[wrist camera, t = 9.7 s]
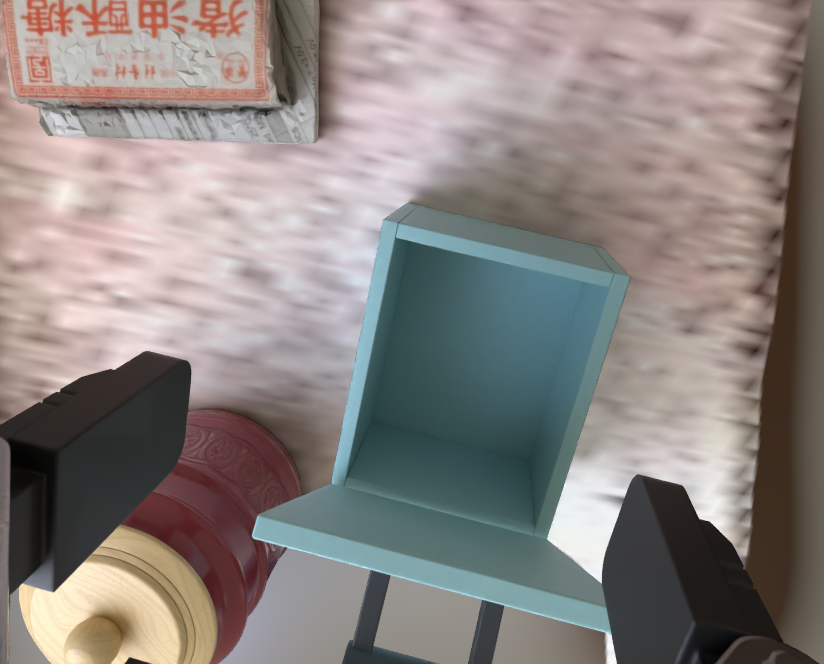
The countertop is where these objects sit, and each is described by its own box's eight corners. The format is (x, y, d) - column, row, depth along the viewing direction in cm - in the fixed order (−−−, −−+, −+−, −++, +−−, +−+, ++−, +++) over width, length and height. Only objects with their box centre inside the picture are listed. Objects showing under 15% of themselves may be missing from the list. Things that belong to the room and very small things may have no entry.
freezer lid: (257, 513, 22) (209, 686, 21) (641, 615, 21) (607, 799, 20) (330, 482, 38) (304, 579, 37) (547, 539, 37) (526, 639, 36)
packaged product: (2, 136, 39) (-25, -55, 36) (55, 137, 44) (34, -33, 41) (301, 145, 37) (297, -57, 34) (323, 144, 41) (321, -33, 39)
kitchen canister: (109, 434, 49) (-94, 587, 33) (261, 380, 47) (124, 518, 30) (186, 578, 52) (36, 788, 35) (334, 536, 49) (247, 742, 33)
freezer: (406, 202, 42) (383, 219, 33) (604, 248, 41) (630, 276, 33) (361, 423, 46) (330, 486, 38) (537, 467, 46) (545, 542, 37)
